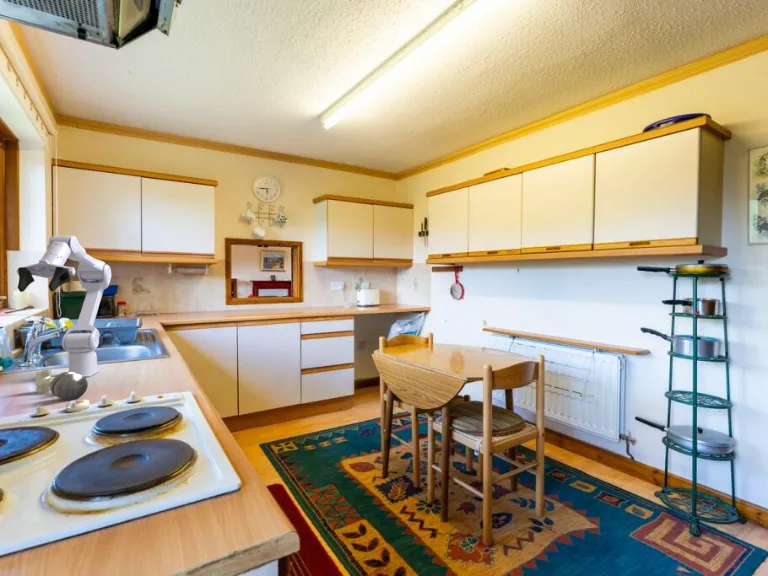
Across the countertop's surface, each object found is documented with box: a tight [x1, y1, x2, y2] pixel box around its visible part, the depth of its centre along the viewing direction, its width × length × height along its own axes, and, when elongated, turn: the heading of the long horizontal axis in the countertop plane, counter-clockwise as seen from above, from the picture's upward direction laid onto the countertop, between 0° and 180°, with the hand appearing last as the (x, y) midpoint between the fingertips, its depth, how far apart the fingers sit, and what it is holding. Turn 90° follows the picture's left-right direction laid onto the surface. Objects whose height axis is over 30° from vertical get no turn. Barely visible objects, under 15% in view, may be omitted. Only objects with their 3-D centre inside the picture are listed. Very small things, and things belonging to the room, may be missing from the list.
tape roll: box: [65, 399, 90, 413], centre depth 109 cm, size 5×5×2 cm
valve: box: [34, 369, 77, 394], centre depth 125 cm, size 7×7×12 cm
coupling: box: [50, 371, 89, 402], centre depth 118 cm, size 5×8×8 cm, turn 145°
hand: (35, 289), depth 119 cm, fingers open, 7 cm apart
